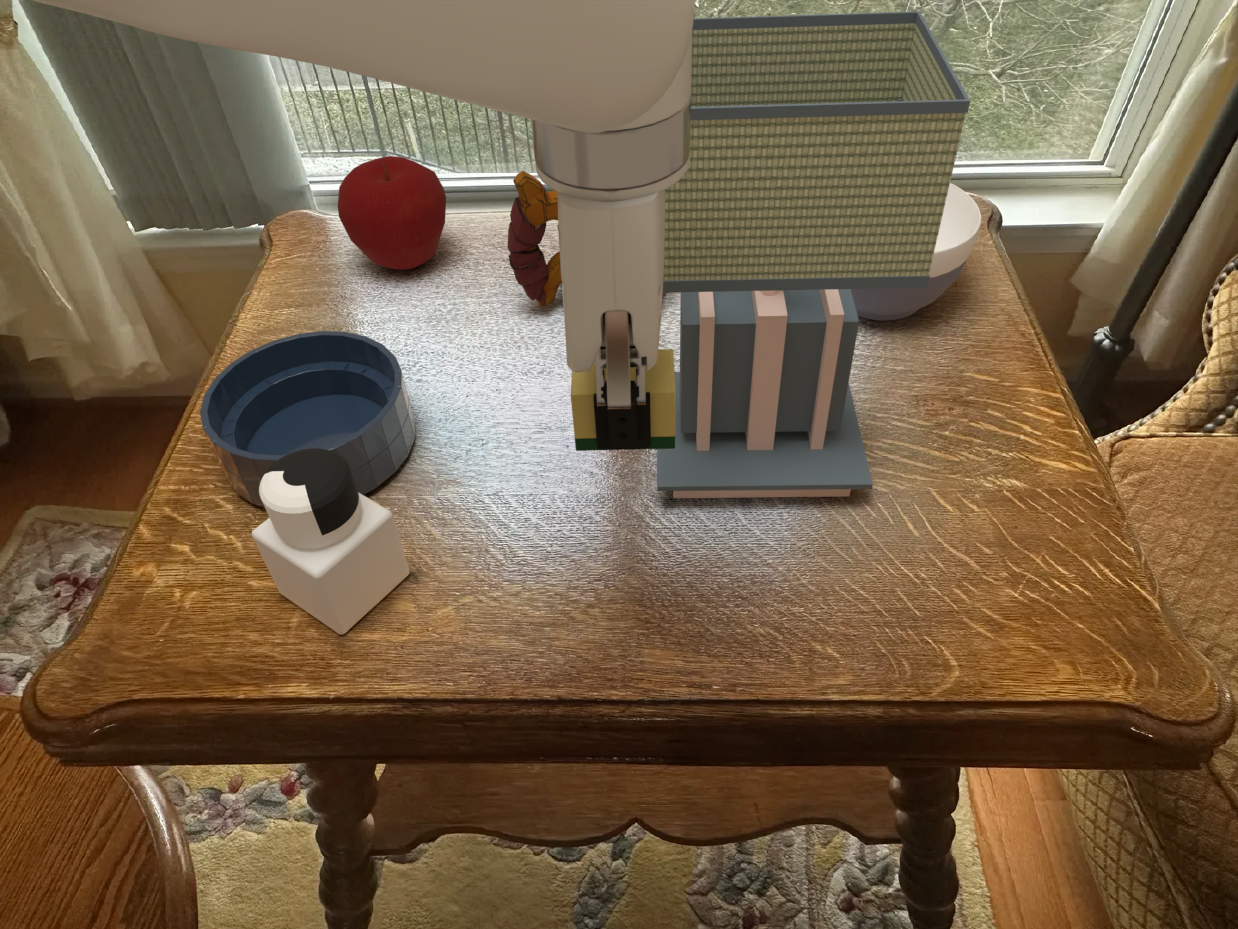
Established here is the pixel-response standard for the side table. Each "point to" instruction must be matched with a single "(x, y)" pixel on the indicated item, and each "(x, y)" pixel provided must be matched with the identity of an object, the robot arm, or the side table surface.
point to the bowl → (945, 268)
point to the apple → (393, 211)
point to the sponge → (656, 383)
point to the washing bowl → (310, 408)
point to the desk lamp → (797, 237)
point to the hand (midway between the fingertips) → (624, 416)
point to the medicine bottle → (327, 539)
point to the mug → (533, 239)
